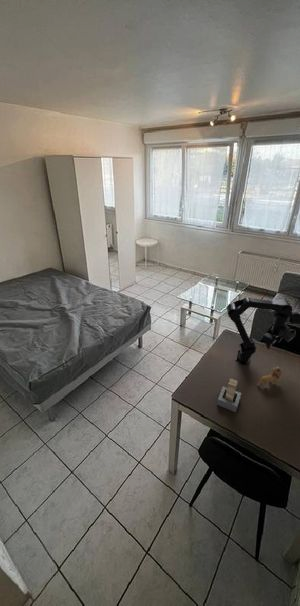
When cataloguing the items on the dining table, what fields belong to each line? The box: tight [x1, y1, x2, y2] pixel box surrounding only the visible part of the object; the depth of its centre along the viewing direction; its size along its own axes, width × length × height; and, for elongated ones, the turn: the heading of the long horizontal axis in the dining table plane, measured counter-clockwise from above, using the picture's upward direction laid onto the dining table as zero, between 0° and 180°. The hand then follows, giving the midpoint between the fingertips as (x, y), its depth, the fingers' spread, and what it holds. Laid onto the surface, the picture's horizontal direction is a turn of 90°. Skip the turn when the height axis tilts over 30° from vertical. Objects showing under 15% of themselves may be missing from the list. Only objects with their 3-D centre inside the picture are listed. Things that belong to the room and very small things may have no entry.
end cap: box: [216, 386, 242, 413], centre depth 125 cm, size 9×9×4 cm
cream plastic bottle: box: [225, 378, 239, 402], centre depth 123 cm, size 4×4×13 cm
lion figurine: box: [257, 366, 282, 390], centre depth 133 cm, size 15×5×9 cm, turn 121°
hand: (272, 345), depth 143 cm, fingers open, 9 cm apart
